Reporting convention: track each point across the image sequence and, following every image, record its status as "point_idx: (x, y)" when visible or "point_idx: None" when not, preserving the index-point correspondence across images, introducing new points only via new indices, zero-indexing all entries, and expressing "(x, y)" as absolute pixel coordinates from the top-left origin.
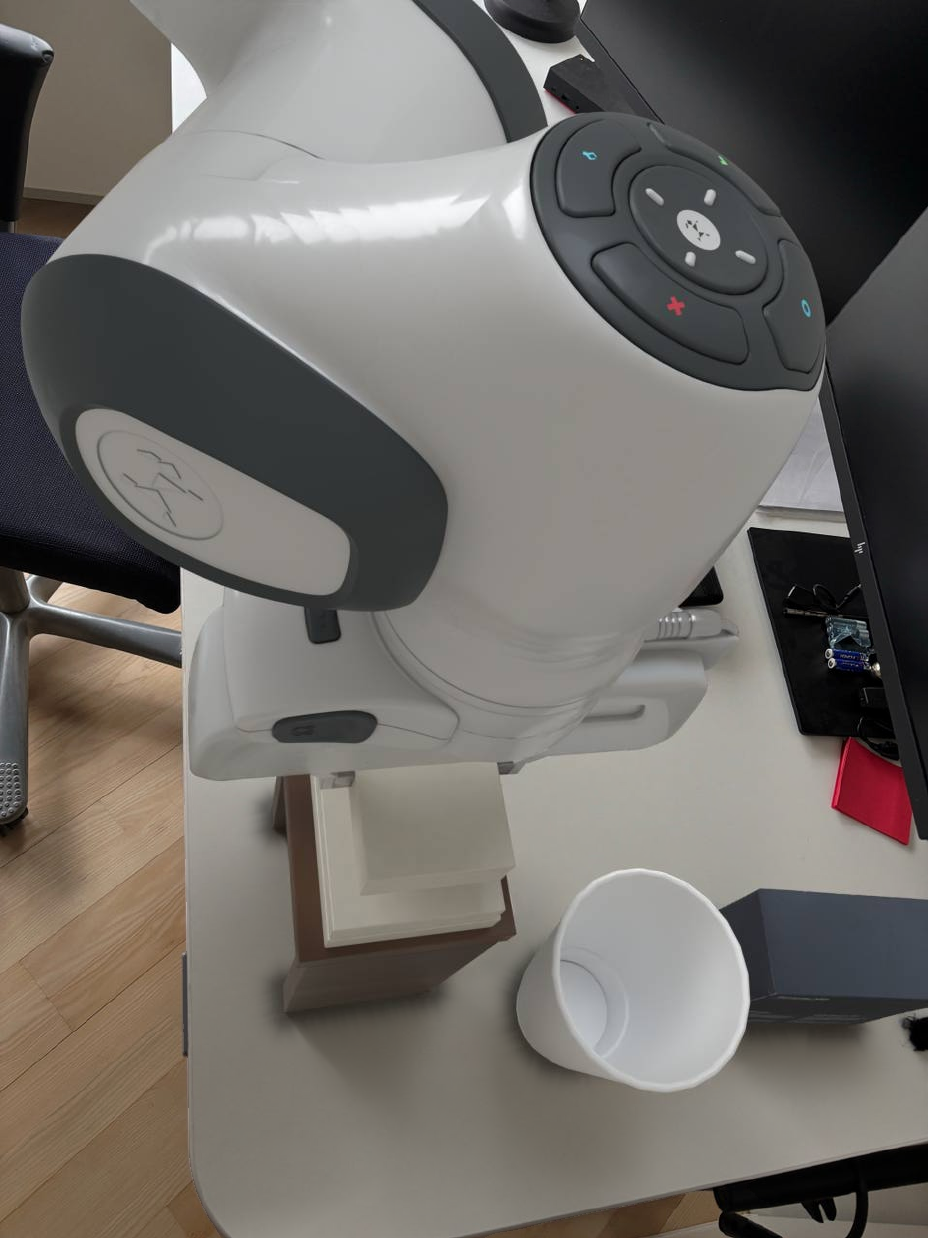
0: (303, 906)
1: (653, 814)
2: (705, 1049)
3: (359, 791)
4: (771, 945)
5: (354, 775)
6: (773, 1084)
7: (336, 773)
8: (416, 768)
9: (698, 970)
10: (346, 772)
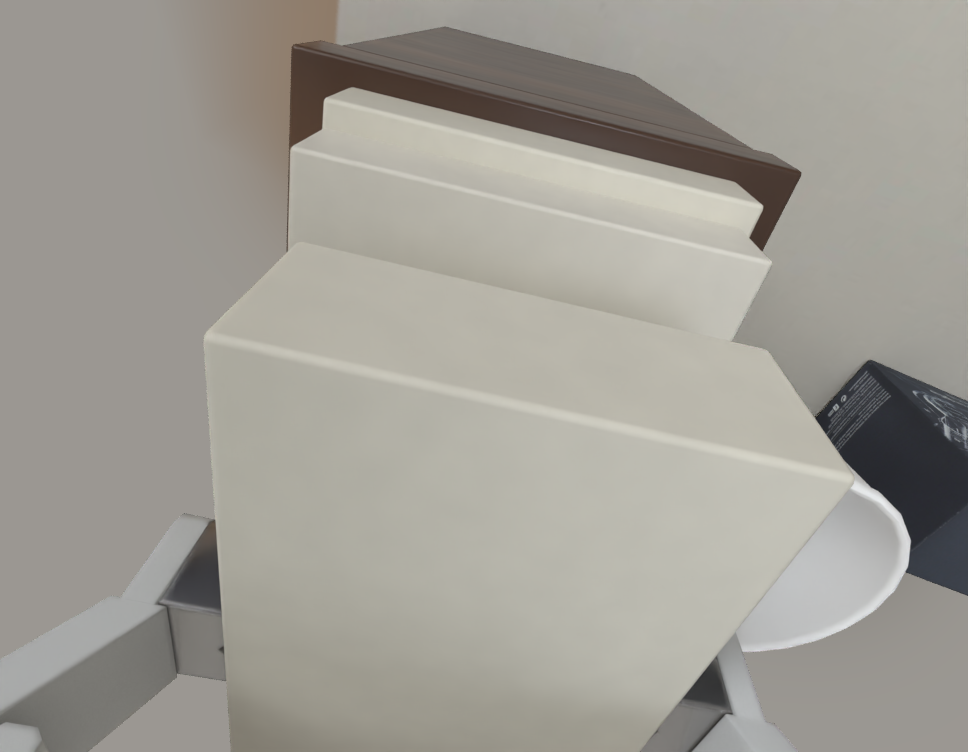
0: None
1: (959, 227)
2: (765, 598)
3: (231, 713)
4: (939, 534)
5: (224, 680)
6: None
7: (162, 684)
8: (400, 718)
9: (828, 522)
10: (203, 669)
